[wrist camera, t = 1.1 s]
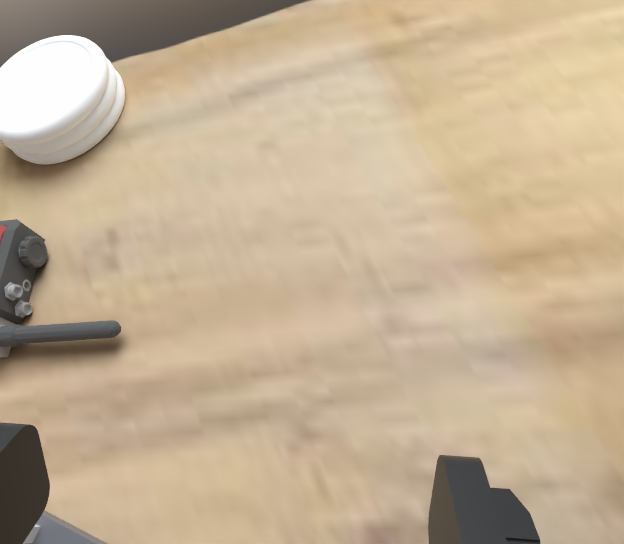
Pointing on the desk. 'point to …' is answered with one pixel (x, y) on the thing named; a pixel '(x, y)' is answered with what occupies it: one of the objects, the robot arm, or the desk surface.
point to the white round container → (58, 99)
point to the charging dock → (58, 532)
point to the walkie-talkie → (17, 289)
